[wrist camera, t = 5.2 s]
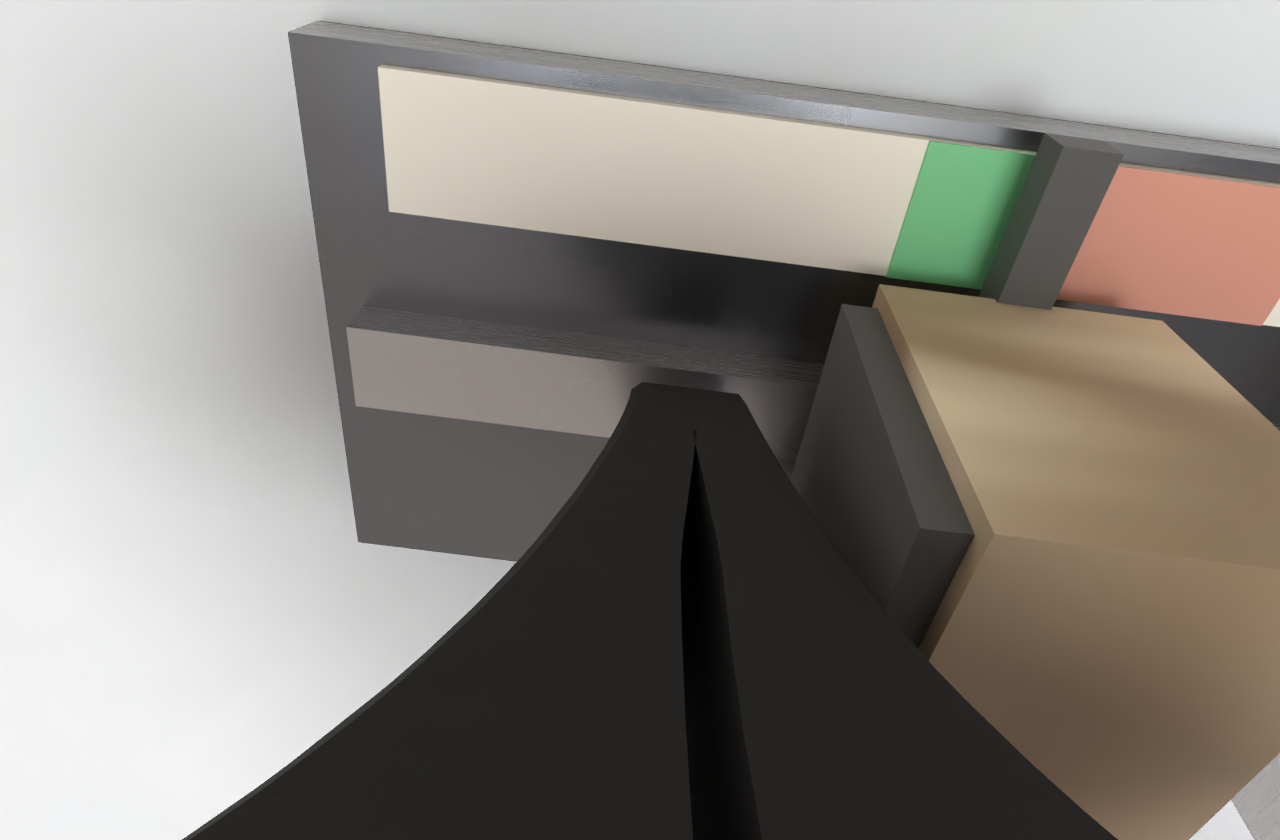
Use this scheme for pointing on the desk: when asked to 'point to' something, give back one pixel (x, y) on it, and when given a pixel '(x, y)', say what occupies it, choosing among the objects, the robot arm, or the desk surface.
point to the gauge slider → (1063, 517)
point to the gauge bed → (691, 259)
